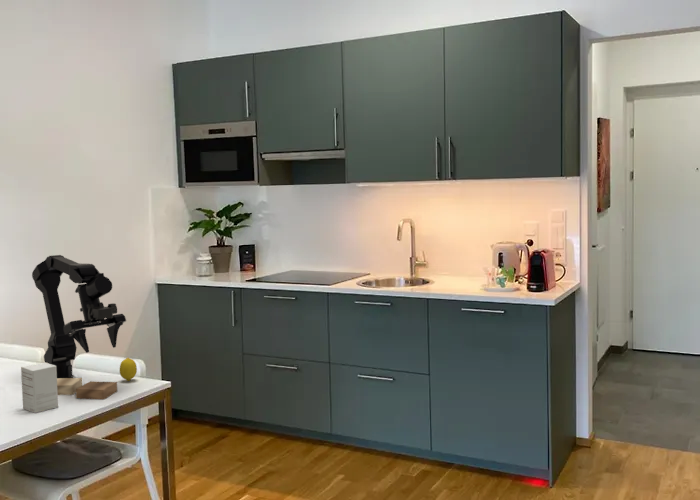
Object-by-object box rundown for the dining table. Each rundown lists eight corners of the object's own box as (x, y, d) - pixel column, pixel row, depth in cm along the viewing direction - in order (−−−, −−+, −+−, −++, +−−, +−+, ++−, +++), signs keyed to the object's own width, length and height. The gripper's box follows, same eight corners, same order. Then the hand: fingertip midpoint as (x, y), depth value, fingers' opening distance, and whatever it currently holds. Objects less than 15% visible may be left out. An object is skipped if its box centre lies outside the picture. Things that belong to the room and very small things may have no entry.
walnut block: (76, 398, 220) (75, 388, 220) (90, 390, 229) (90, 381, 229) (103, 399, 219) (103, 389, 219) (117, 391, 228) (116, 382, 228)
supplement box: (46, 403, 216) (44, 361, 215) (58, 407, 211) (57, 365, 210) (22, 408, 210) (20, 366, 209) (34, 413, 206) (32, 370, 205)
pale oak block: (43, 395, 224) (43, 385, 224) (54, 387, 233) (54, 378, 233) (72, 394, 225) (72, 385, 224) (82, 386, 234) (82, 377, 233)
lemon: (139, 379, 243) (138, 355, 242) (133, 383, 238) (132, 359, 237) (124, 378, 244) (123, 355, 243) (117, 383, 238) (116, 359, 238)
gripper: (74, 299, 215) (85, 349, 213) (129, 292, 230) (140, 339, 227) (57, 308, 223) (68, 357, 220) (111, 301, 237) (122, 347, 234)
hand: (101, 349), depth 225 cm, fingers open, 9 cm apart
